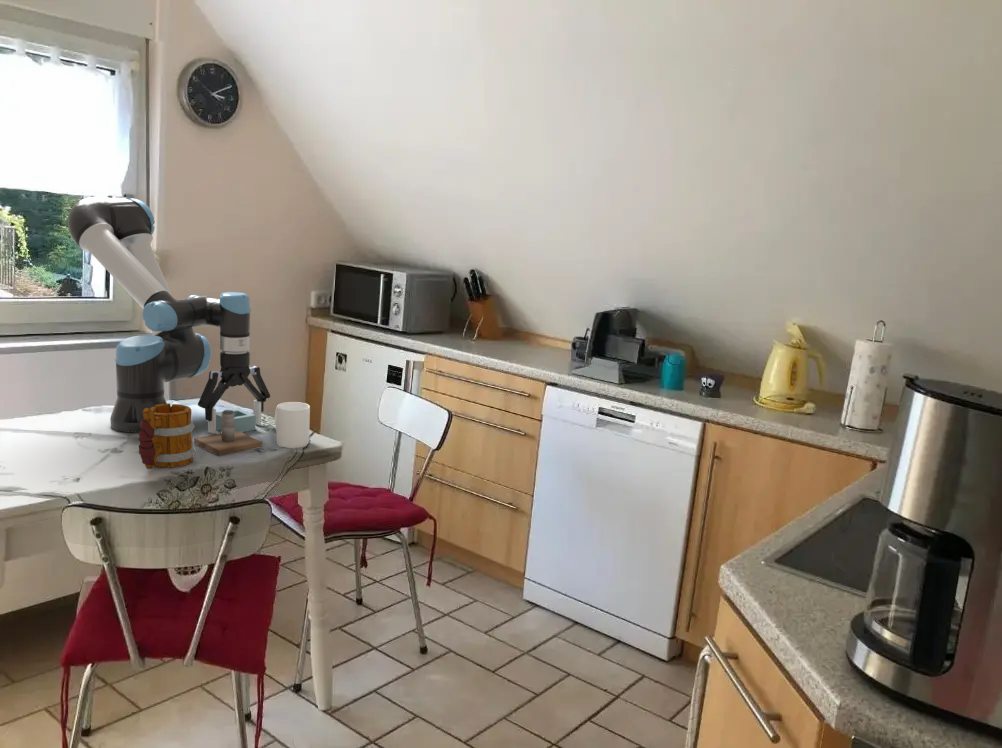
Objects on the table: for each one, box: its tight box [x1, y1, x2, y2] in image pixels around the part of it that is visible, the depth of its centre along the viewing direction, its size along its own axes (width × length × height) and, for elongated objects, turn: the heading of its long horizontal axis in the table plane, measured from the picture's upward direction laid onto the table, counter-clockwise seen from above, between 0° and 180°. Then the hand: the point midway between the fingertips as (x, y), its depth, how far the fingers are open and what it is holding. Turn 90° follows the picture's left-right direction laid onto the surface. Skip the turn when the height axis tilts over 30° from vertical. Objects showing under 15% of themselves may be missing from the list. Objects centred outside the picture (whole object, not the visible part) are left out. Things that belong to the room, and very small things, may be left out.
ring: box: [216, 408, 257, 433], centre depth 231 cm, size 8×8×4 cm
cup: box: [273, 401, 311, 449], centre depth 222 cm, size 8×12×10 cm
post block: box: [193, 409, 263, 457], centre depth 216 cm, size 12×12×9 cm
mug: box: [138, 403, 197, 470], centre depth 199 cm, size 11×16×15 cm, turn 167°
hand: (235, 428), depth 231 cm, fingers open, 13 cm apart
